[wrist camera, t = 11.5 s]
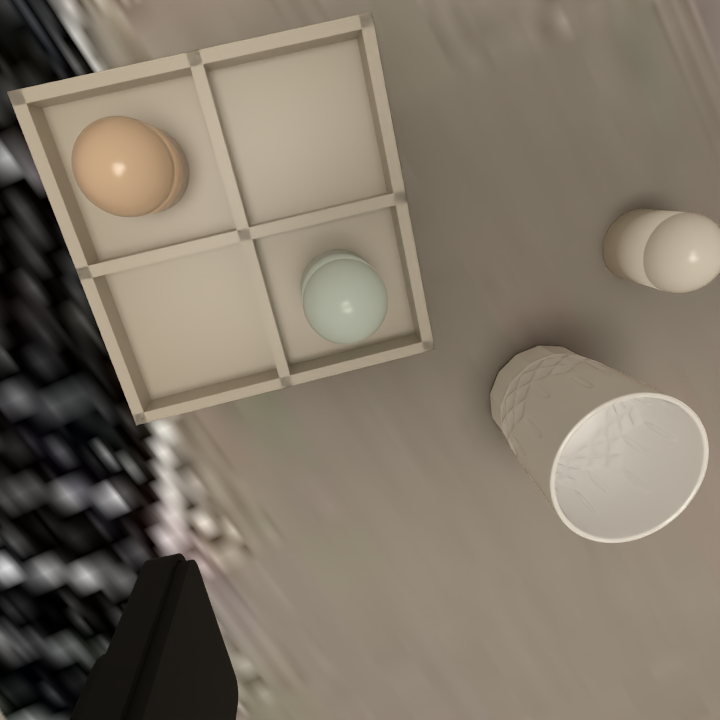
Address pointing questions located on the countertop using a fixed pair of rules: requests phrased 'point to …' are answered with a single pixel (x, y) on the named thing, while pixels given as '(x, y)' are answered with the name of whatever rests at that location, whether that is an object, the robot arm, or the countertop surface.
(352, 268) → the green egg
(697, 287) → the white egg
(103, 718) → the robot arm
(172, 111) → the egg tray
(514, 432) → the white cup
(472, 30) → the countertop surface
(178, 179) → the brown egg
